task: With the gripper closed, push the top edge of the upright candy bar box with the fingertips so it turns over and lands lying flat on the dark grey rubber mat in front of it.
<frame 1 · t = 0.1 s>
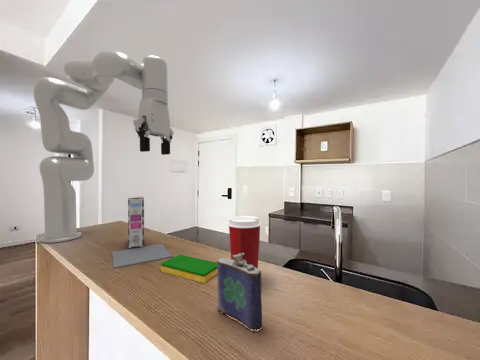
hand: (155, 153, 70), 31 cm above the countertop, tool pointing down, fingers open, 9 cm apart
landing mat: (141, 254, 67), on the countertop
dish sponge: (190, 273, 55), on the countertop
flask: (239, 318, 37), on the countertop
paper cup: (244, 280, 50), on the countertop
candy bar box: (136, 244, 77), on the countertop, touching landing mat
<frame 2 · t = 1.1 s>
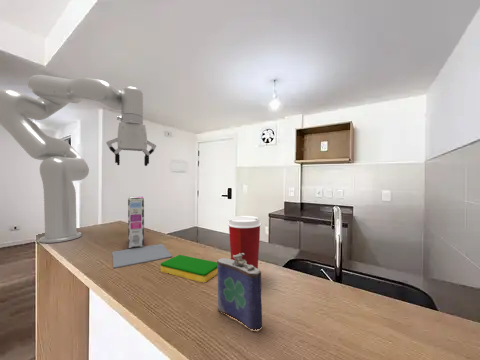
hand: (132, 165, 86), 28 cm above the countertop, tool pointing down, fingers open, 9 cm apart
nothing on the countertop moved.
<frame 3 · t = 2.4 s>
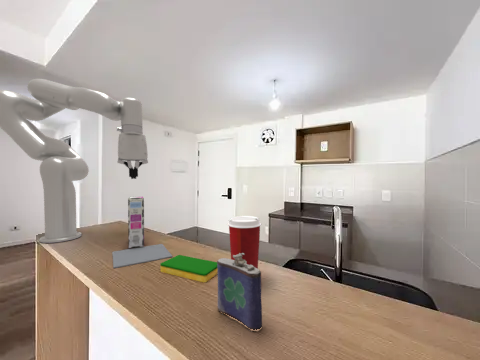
hand: (133, 178, 86), 23 cm above the countertop, tool pointing down, fingers closed
nothing on the countertop moved.
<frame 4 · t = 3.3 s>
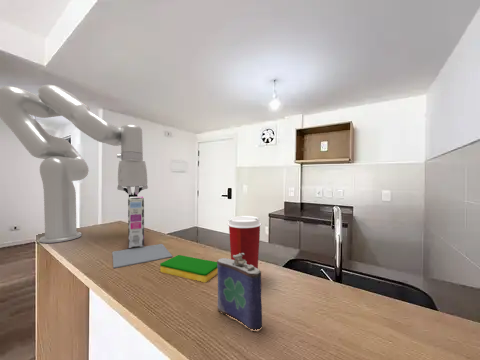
hand: (133, 204, 86), 13 cm above the countertop, tool pointing down, fingers closed
nothing on the countertop moved.
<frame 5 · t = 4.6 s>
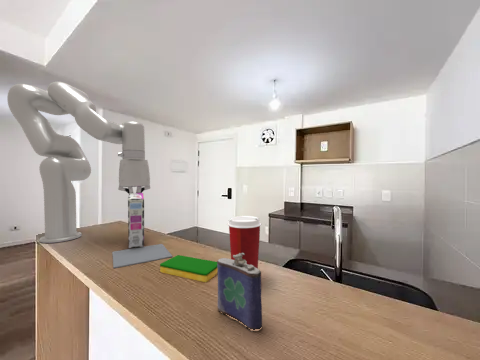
hand: (135, 205, 82), 13 cm above the countertop, tool pointing down, fingers closed
candy bar box: (136, 242, 77), point 1 cm above the countertop, touching gripper, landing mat
everything else where it was.
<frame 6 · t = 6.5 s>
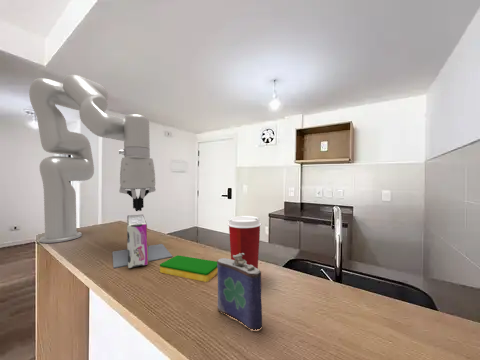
hand: (138, 210, 72), 13 cm above the countertop, tool pointing down, fingers closed
candy bar box: (136, 231, 72), point 6 cm above the countertop, touching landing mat
everything else where it was.
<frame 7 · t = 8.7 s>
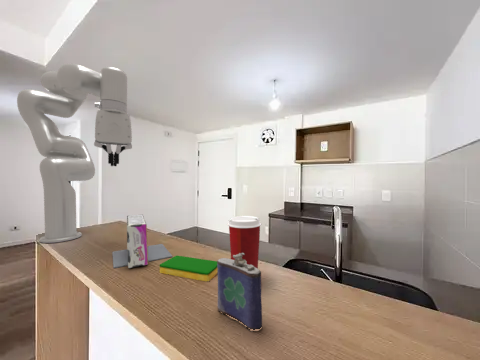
hand: (113, 166, 72), 27 cm above the countertop, tool pointing down, fingers closed
nothing on the countertop moved.
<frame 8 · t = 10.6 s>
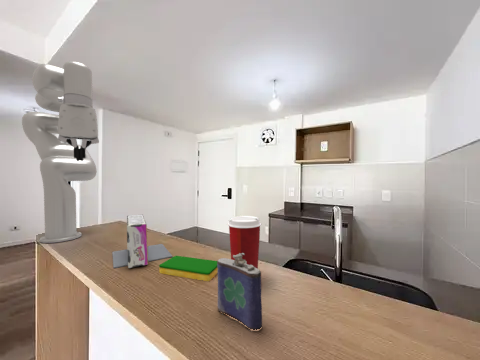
hand: (79, 160, 72), 29 cm above the countertop, tool pointing down, fingers closed
nothing on the countertop moved.
at the end: candy bar box tilted 91°; candy bar box touching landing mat; the gripper is holding nothing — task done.
